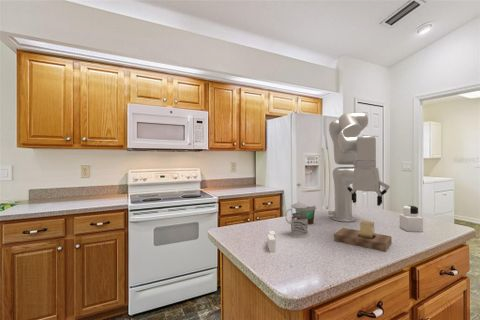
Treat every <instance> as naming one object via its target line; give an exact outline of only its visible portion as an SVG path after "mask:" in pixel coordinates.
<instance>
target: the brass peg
mask: <svg viewBox="0 0 480 320" xmlns="http://www.w3.org/2000/svg"><path fill="white" fill-rule="evenodd" d="M359 231H360V237H364V238H369V239H374V233H375V222H374V221H369V220H363V219H362V220H361V221H360V222H359Z"/></svg>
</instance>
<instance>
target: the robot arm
mask: <svg viewBox="0 0 480 320" xmlns="http://www.w3.org/2000/svg"><path fill="white" fill-rule="evenodd" d="M368 117H369V116H368V115H367V114H366V112H365V113H364V112H346V113H342V115H340V116H339V117H338V119H335V120H332V121H331V122H330V123H329V126H328V131H329V136H330V138H331V140H332V143H333V158H334V163H335V164H336V165H338V167H335V168H334V169H332V179H333V185H334V187H333V188H334V210H333V211H332V210H328V212H327V213H328V215H332V217H331V218H332V220H334V221H337V222H341V223H342V222H343V223H352V222H355V221H356V218H355V217H354V216H353V204H355V203H357V191H358V192H359V191H362V192H371V193H372V192H375V193H376V194H377V197H376V202H377V203H376V204H377V205H376V206H378V207H379V206H381V205H382V204H383V195H385V194H387V192H388V191H389V189H390V185H389V184H387V183H385V182H382V181H381V179H380V172H379V171H380V170H379V168H378V167H377V138H376V137H375V136H373V135H360V134H361V131H363V130H364V129H365V128H367V126H368V124H369V118H368ZM359 135H360V136H359ZM339 165H340V166H339ZM344 165H345V166H344ZM350 185H352V187H351V186H350ZM381 187H383V188H384V189H383V190H382V191H381Z"/></svg>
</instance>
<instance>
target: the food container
mask: <svg viewBox="0 0 480 320" xmlns="http://www.w3.org/2000/svg"><path fill="white" fill-rule="evenodd" d="M307 206H308V205H307ZM293 209H294V210H295V213H299V212H300V213H304V214H306V215H307V216H305V217H307V218H308V225H312V224H314V223H315V222H314V221H315V212H316V210H317V208H316V205H313V206H308V207H307V208H306V209H296V208H293ZM296 219H299V220H302V219H300V218H296ZM302 224H303V223H302Z"/></svg>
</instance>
